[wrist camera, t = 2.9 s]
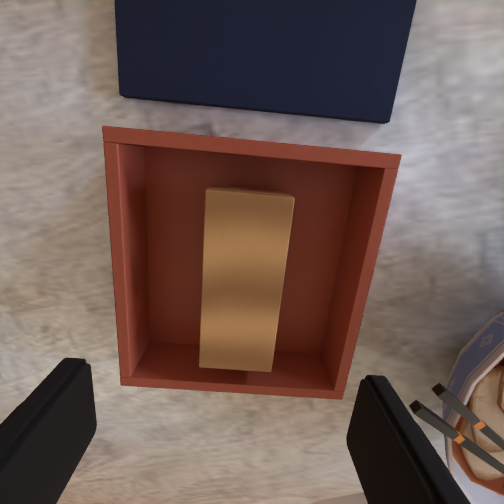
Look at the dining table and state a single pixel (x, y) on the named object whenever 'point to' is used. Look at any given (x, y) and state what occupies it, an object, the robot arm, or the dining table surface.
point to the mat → (266, 54)
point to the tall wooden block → (243, 275)
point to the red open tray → (191, 255)
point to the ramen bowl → (474, 415)
